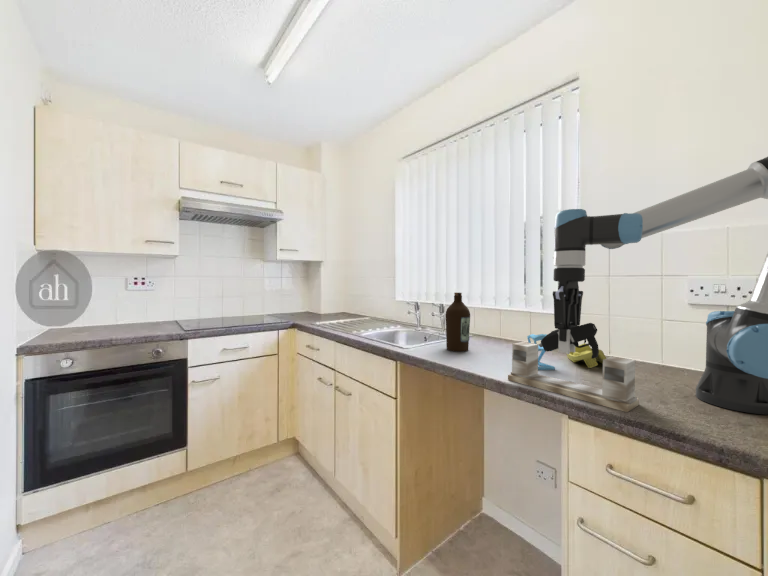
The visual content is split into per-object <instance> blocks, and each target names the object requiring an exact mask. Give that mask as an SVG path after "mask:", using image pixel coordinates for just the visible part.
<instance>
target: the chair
mask: <svg viewBox="0 0 768 576" xmlns="http://www.w3.org/2000/svg"><path fill="white" fill-rule="evenodd" d="M546 335H547V334H546V333H545V334H544V333H540V334H534V333H531V334H529V335H527V336H526V338H527V341H528V342H527V343H532V341H531V339H532V340H533V341H534V342H533V344H538V342H539V341H541V340H542V339H543V338H544V337H545V336H546ZM538 352H540V354H538V371H539V370H542V371H546V370H547V371H550V370H553V371H554V370H556V366H554V365H551V364H548V363H543V362H540V361H541V359H542V358H543V356H544V354H545V353H546V352H547V351H545V350H544V348H543V347H540V346H539V344H538Z"/></svg>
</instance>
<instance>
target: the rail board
mask: <svg viewBox="0 0 768 576" xmlns="http://www.w3.org/2000/svg"><path fill="white" fill-rule="evenodd" d="M538 345H539V343H537V344H534V342H533V343H532V342H531V343H528V342H527V341H521V342H520V341H519V342H516V343H512V349H511V350H512V353H511V357H512V359H511V372H510V374H507V380H508V381H511V382H514V383H519V384H522V385H525V386H528V387H529V386H530V387H532V388H537V389H540V390H544V391H548V392H551V393H554V394H559V395H563V396H566V397H570V398H574V399H577V400H580V401H583V402H584V401H585V402H588V403H592V404H596V405H599V406H604V407H607V408H610V409H614V410H617V411H622V412H625V413H629V412H630V411H632V410H634V409H635V408H636V407H638V406H639V405H640V398H638V397H636V396H635V395H636V394H635V393H636V391H635V389H636V388H635V387H636V384H635V383H636V359H629V358H625V357H619V356H610V357H606V359H603V364H602V382H601V383H602V384H601V388H598V387H593V386H590V385H586V384H582V383H579V382H578V383H577V382H573V381H569V380H564V379H559V378H556V377H551V376H547V375H544V374H539V370H538V367H539V365H538V357H539V351H538Z"/></svg>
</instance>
